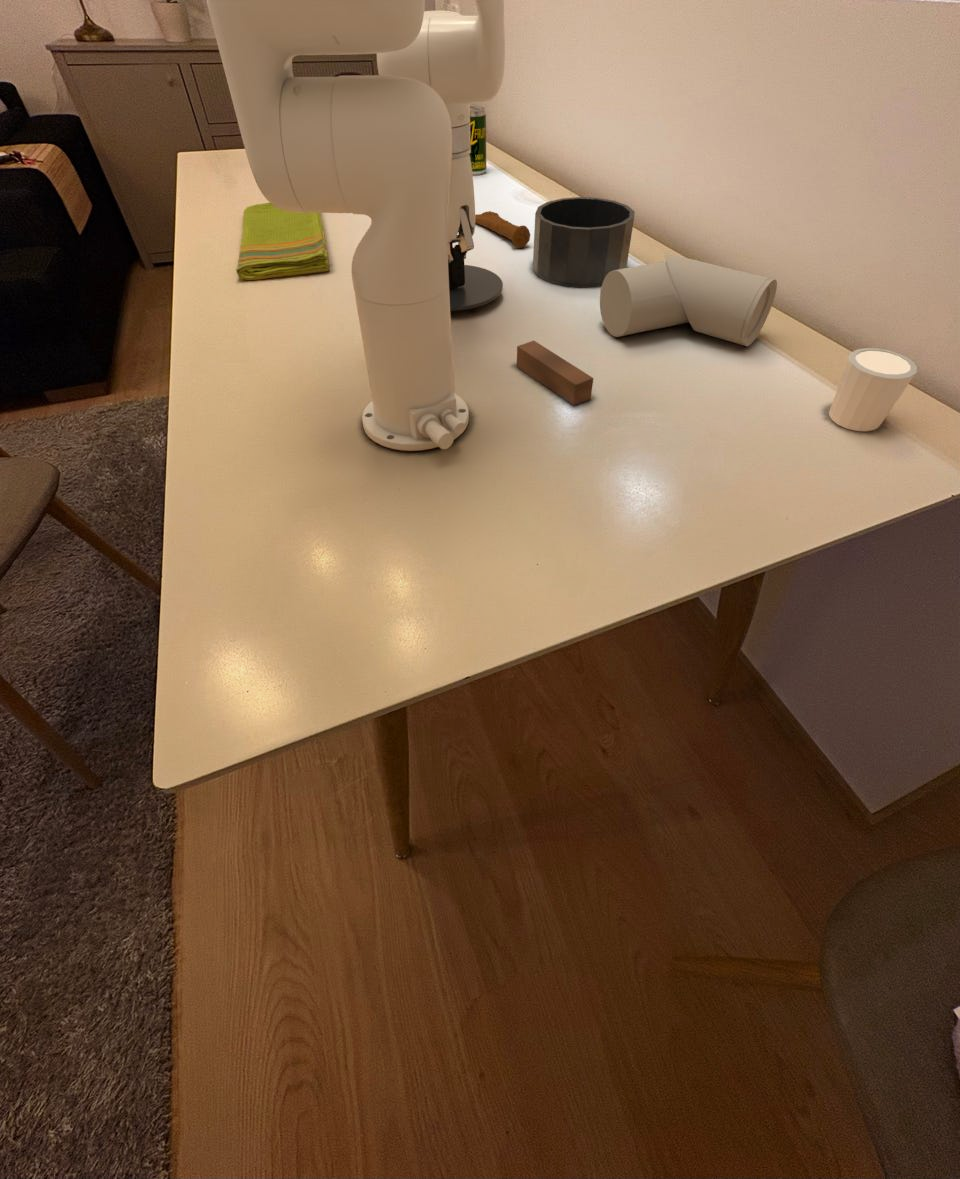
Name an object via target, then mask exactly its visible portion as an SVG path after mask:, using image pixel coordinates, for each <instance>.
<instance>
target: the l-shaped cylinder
mask: <svg viewBox="0 0 960 1179" xmlns="http://www.w3.org/2000/svg"><path fill="white" fill-rule="evenodd" d="M664 258H665V260H664V261H659V262H653V263H647V264H642V265H636V266H631V267H630V266H629V267H626V268H624V269H618V270H613V271H611V272H609V273H608V274H607V275H606V277H605V279H604V281H603V284H602V286H600V287H601V288H600V293H599V308H600V309H599V310H600V316H601V319H602V323H603V325H604V327H605V329H606V331H607V332H608V334H609V335H611V336H613V337H615V338H619V337H625V336H629V335H633V334H639V333H643V332H648V331H653V330H657V329H662V328H669V327H672V326H678V325H683V324H687V323H689V325H690V326H691V328H692V330H693V331H694V332H697V333H700V334H703V335H707V336H711V337H714V338H717V339H721V340H724V341H727V342H730V343H734V344H738V345H741V346H745V347H749V346H751V345H752V343H754V341H755V340H756V339H757V337H758V335H759V334H760V332H761V331H762V329H763V327H764V325H765V323H766V321H767V318H768V316H769V314H770V311H771V310H772V306H773V304H774V300H775V298H776V294H777V288H778V281H777V279H775V278H770V277H766V276H763V275H758V274H754V273H751V272H747V271H741V270H737V269H733V268H729V267H725V266H723V265H722V266H721V265H717V264H712V263H709V262H705V261H700V260H696V259H693V258H688V257H685V256H680V255H676V254H672V253H669V252H664Z"/></svg>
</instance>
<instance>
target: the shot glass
mask: <svg viewBox="0 0 960 1179" xmlns="http://www.w3.org/2000/svg"><path fill="white" fill-rule="evenodd" d="M844 366H845V367H844V369H843V372H842V374H841V377H840V380H839V383H838V386H837V389H836V391H835V394H834V397H833V400H832V403H831V406H830V408H829V411H828V416H829V418H830V420H831V421H832V422H834V423H835V424H836V425H838V426H840V427H842V428H844V429H847V430H851V431H855V432H871V431H875V430H876V429H878V428H880V426H881V425H882V423H883V422H884V421H885V419H886V417H887V416H888V415H889V413H890V412H891V410H892V409H893V408H894V406H895V405H896V403H897V402H898V400H899V399H900V397H901V396H902V394H903V393H904V392H905V390H906V389H907V387H908V386H909V384H910V383H911V382H912V380H913V378H914V377H915V375H916V374H917V372H918V371H917V370H918V366H917V365H916V364H915V362H914V361H913V360H912V359H910V358H909V357H907V356H905V355H904V354H901V353H899V352H896V351H893V350H888V349H883V348H875V347H863V348H859V349H855V350H853V351H852V352H850V353H849V354H848V358H847V360H846V364H845V365H844Z"/></svg>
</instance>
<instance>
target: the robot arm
mask: <svg viewBox="0 0 960 1179" xmlns="http://www.w3.org/2000/svg"><path fill="white" fill-rule="evenodd" d="M473 1H474V3H475V6H476V10H477V11H476V12H477V15H462V14H461V13H459V12H457V11H454V10H453V11H452V10H425V9H426V8H425V7H426V0H206V5H207V10H208V13H209V18H210V21H211V25H212V29H213V33H214V35H215V40H216V45H217V48H218V52H219V56H220V59H221V63H222V68H223V70H224V74H225V78H226V82H227V85H228V86H227V87H228V90H229V93H230V94H229V95H230V97H231V102H232V105H233V110H234V114H235V117H236V120H237V125H238V129H239V132H240V136H241V140H242V143H243V147H244V150H245V155H246V158H247V162H248V164H249V168H250V170H251V174H252V175H253V178H254V181H255V183H256V185H257V187H258V189H259V191H260V193H261V194H262V196H263V197H264V198H265V199H266V200H267V202H268V203H271V204H272V205H274V206H275V207H277V208H279V209H281V210H285V211H289V212H300V213H320V214H352V215H362V216H367V217H369V218H370V221H371V222H370V225H369V227H368V228H367V230H366V232H365V233H364V235H362V238H361V239H360V240H359V243H358V244H357V246H356V248H355V250H354V253H353V256H352V260H351V280H352V286H353V291H354V292H353V293H354V297H355V304H356V310H357V316H358V321H359V328H360V334H361V339H362V346H363V353H364V357H365V363H366V364H365V365H366V369H367V370H366V371H367V376H368V382H369V388H370V394H371V401H370V402H368V404H367V405H366V406H365V407H364V410H363V411H362V414H361V420H362V426H363V429H364V433H365V434H366V436H367V437H368V438H369V439H370V440H372V441H373V442H374V443H377V444H378V445H380V446H382V447H385V448H387V449H388V448H389V449H391V450H396V451H403V452H404V451H405V452H417V451H426V450H433V449H435V448H440V449H441V450H447V449H449V448H450V447H452V445H453V443H454V440H456V439H457V438H458V437H460V436H461V435H462V434H463V433H464V432H465V430H466V429H467V427H468V424H469V423H470V422H469V421H470V416H469V415H470V412H469V407H468V405H467V403H466V401H465V400H464V399H463V398H462V397H461V396H459V395H458V394H456V393H455V376H454V373H455V372H454V356H453V354H454V353H453V336H452V334H453V333H452V317H451V311H450V295H449V290H450V289H454V288H457V287H461V286H464V284H465V268H464V265H465V260H466V259H467V254H468V252H470V251H472V250H473V249H475V243H474V238H473V236H474V234H475V231H476V223H475V215H476V202H475V199H476V198H475V188H474V186H475V185H474V175H472V167H471V160H470V155H469V154H470V153H471V145H470V106H471V104H472V105H473V104H474V105H475V104H485V103H488V102H491V101H492V100H493V99H494V98H495V97H496V96H497V95H498V93H499V91H500V90H501V87H502V85H503V84H502V83H503V80H504V74H505V65H506V64H505V60H506V59H505V58H506V47H505V46H506V43H505V42H506V41H505V40H506V39H505V0H473ZM374 54H376V67H377V73H378V74H374V75H369V74H367V75H366V74H365V75H364V74H363V75H362V74H359V75H356V74H355V75H354V74H353V75H338V76H294V71H293V59H294V57H297V56H344V55H345V56H346V55H347V56H348V55H349V56H350V55H374ZM456 243H457V244H456ZM453 244H455V245H453Z"/></svg>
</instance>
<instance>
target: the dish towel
mask: <svg viewBox="0 0 960 1179" xmlns="http://www.w3.org/2000/svg"><path fill="white" fill-rule="evenodd" d="M242 216H243V218H242V235H241V243H240V250H239V254H238V261H237V266H236V269H235V271H236V274H237V276H238V277H239V279H241V280H245V281H256V280H265V279H271V278H272V279H273V278H282V277H289V276H299V275H307V274H315V273H324V272H328V271H330V260H329V254H328V248H327V245H326V244H327V242H326V236H325V231H324V227H323V221H322V215H321V213H300V212H289V211H285V210H281V209H279V208H277V207H275V206H274V205H272V204H271V203H270V202H265V203H257V204H253V205H249V206H247V207H245V209H244V210H243V215H242Z"/></svg>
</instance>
